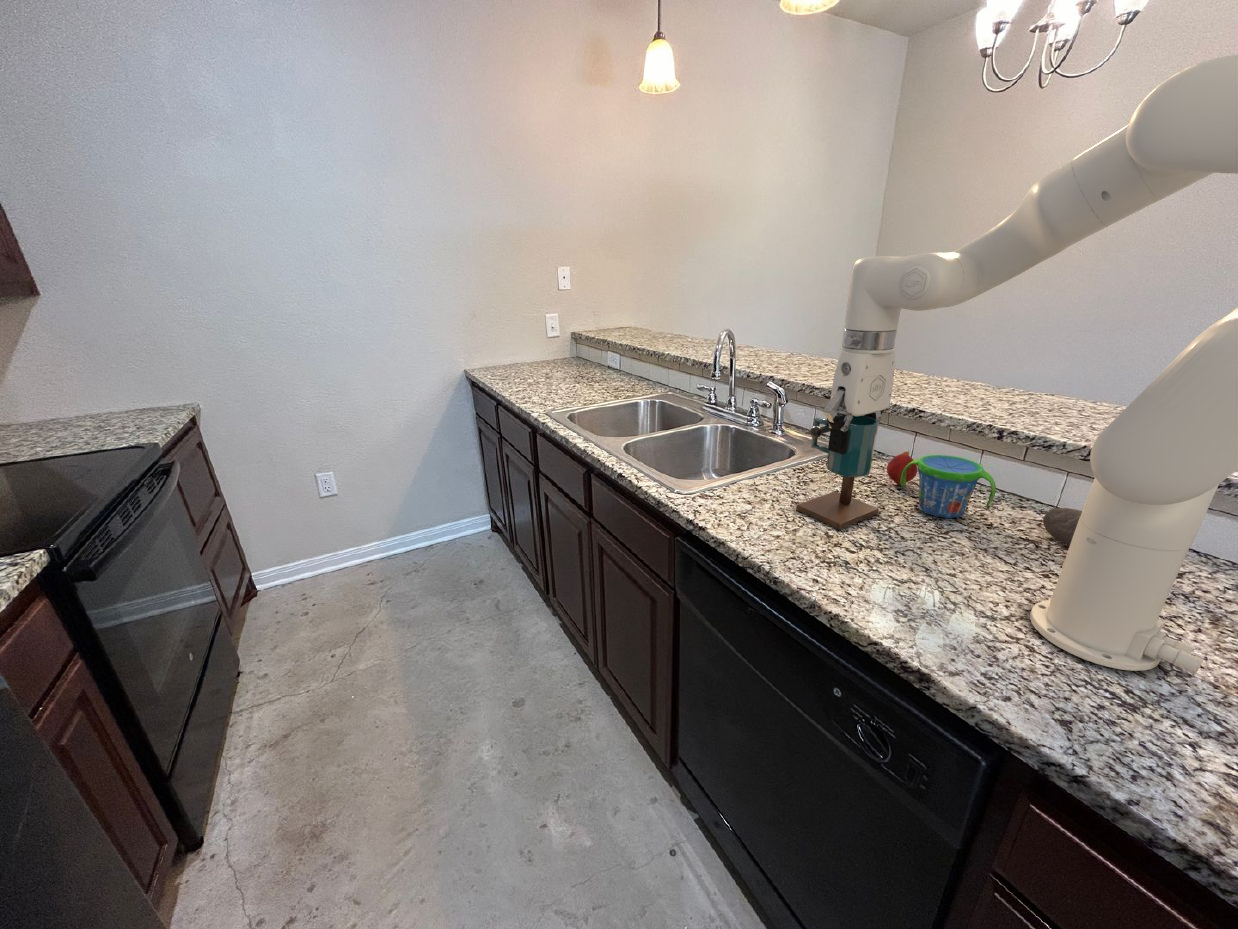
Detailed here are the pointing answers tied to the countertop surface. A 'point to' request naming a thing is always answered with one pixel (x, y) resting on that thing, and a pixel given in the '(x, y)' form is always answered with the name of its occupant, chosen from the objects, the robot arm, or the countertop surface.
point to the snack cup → (947, 484)
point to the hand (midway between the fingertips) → (851, 447)
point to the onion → (901, 467)
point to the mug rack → (837, 501)
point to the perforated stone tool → (1062, 523)
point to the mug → (852, 447)
